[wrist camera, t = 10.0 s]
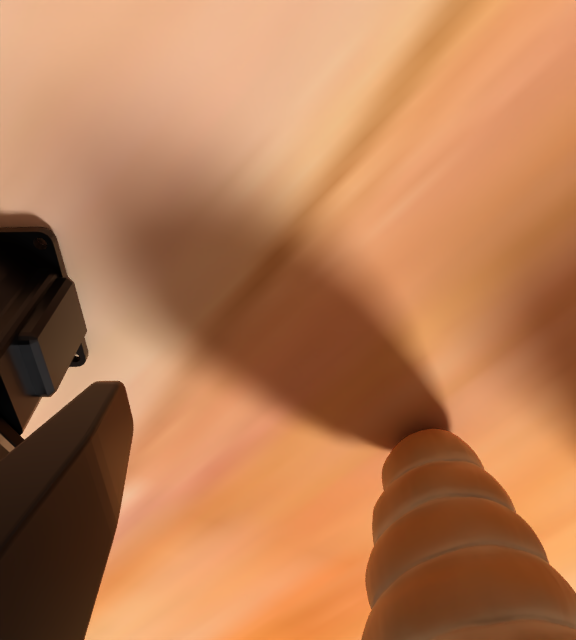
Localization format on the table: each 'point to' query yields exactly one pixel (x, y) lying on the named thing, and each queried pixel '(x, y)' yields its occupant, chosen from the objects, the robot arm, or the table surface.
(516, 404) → the table surface
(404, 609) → the spiral seashell
